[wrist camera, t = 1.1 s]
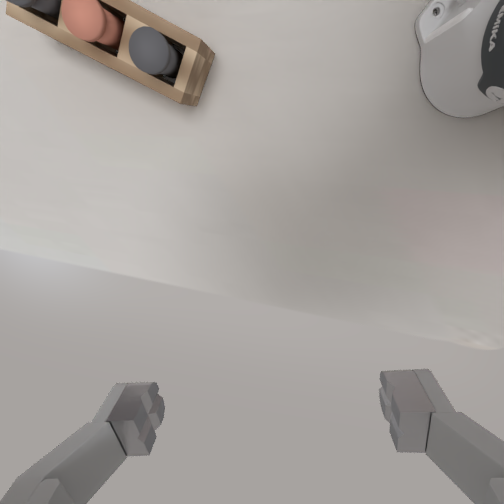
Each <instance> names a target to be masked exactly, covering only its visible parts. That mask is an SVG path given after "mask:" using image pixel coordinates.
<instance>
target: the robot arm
mask: <svg viewBox="0 0 504 504" xmlns="http://www.w3.org/2000/svg"><path fill="white" fill-rule="evenodd" d="M433 9H436V10H437V15H436V16H434V15H433V13H432V12H433ZM415 30H416V35H417V38H418V41H419V44H420V47H421V62H420V76H421V83H422V87H423V90H424V92H425V94H426V96H427V98H428V99H429V101H430V102H431V103H432V104H433V106H435V107H436V108H437V109H438V110H440V111H441V112H443V113H445V114H447V115H450V116H454V117H463V118H465V117H475V116H479V115H482V114H485V113H488V112H490V111H493V110H495V109H497V108H500V107H503V106H504V0H431V1H430V2H429V3H428V5H427V6H426V7H425V8H424V10H423V11H422V12H421V13H420V15H419V16H418V18H417V20H416V23H415ZM380 381H381V384H382V387H381V388H380V389H379V392H380V393H379V394H380V403H381V407H382V411H383V414H384V417H385V419H386V420H387V421H388V422H389V423H390V434H391V437H392V439H393V442H394V445H395V448H396V450H397V452H417V453H418V452H419V453H426V455H427V456H428V457H429V458H430V459H431V460H432V461H433V462H434V463H435V464H436V465H437V466H438V467H439V468H440V469H441V470H442V471H443V472H444V473H445V474H446V475H447V476H448V477H449V478H450V479H451V480H452V481H453V482H454V483H455V484H456V485H457V486H458V487H459V488H460V489H461V491H463V493H464V494H465V495H466V496H467V497H468V498H469V499H470V500H471V501H472V502H473V503H474V504H504V441H502V440H501V439H500V438H498V437H497V436H495V435H494V434H492V433H491V432H489V431H488V430H487V429H485V428H484V427H482V426H481V425H479V424H478V423H476V422H475V421H474V420H472V419H471V418H469V417H468V416H466V415H465V414H463V413H462V412H456V411H455V409H454V408H453V406H452V405H451V403H450V401H449V400H448V398H447V396H446V395H445V393H444V392H443V390H442V388H441V387H440V385H439V383H438V382H437V380H436V379H435V377H434V375H433V374H432V372H431V371H430V370H429V369H415V370H394V371H381V373H380ZM158 390H159V388H158V385H157V383H155V382H140V383H138V382H136V383H117V384H116V385H114V386H113V388H112V389H111V391H110V393H109V394H108V396H107V397H106V399H105V401H104V402H103V404H102V406H101V407H100V409H99V411H98V412H97V414H96V416H95V417H94V419H93V420H92V422H91V423H86V424H85V425H84V426H83V427H81V428H80V429H79V430H77V431H76V432H75V433H74V434H72V435H71V436H70V437H68V438H67V439H66V440H65V441H63V442H62V443H61V444H60V445H58V446H57V447H56V448H54V449H53V450H52V451H51V452H49V453H48V454H47V455H46V456H44V457H43V458H42V459H40V460H39V461H38V462H37V463H35V464H34V465H33V466H31V467H30V468H29V469H28V470H26V471H25V472H24V473H22V474H21V475H20V476H19V477H18V478H17V479H16V480H15V482H14V483H13V484H12V486H11V487H10V488H9V490H8V491H7V493H6V494H5V495H4V497H3V498H2V500H1V501H0V504H86V503H87V502H88V501H89V500H90V499H91V498H92V497H93V495H94V494H95V493H96V492H97V491H98V490H99V489H100V488H101V486H102V485H103V484H104V483H105V481H107V480H108V479H109V477H110V476H111V475H112V474H113V473H114V472H115V470H116V469H117V468H118V467H119V466H120V465H121V464H122V463H123V461H124V460H125V459H126V458H127V457H126V456H143V455H150V452H151V450H152V447H153V444H154V442H155V439H156V433H155V430H156V429H157V428H158V427H159V426H160V425H161V423H162V420H163V418H164V410H165V406H164V401H163V398H162V397H161V396H159V394H157V393H158Z"/></svg>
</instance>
